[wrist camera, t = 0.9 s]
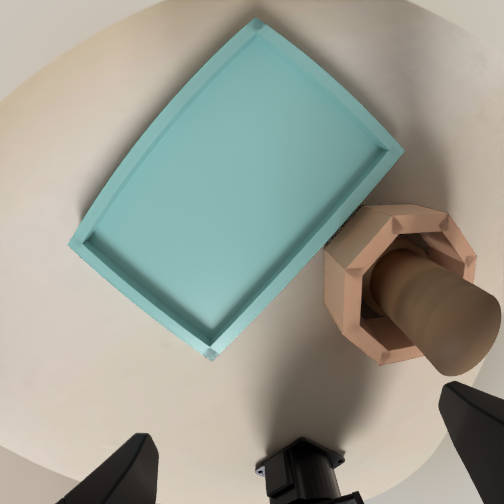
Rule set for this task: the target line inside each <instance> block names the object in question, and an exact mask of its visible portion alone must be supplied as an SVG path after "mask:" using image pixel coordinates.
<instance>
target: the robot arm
mask: <svg viewBox="0 0 504 504" xmlns="http://www.w3.org/2000/svg"><path fill="white" fill-rule="evenodd" d="M438 406H439V411H440V413H441V415H442V418H443V420H444V423H445V425H446V427H447V430H448V432H449V435H450V437H451V440H452V442H453V444H454V446H455V448H456V450H457V452H458V454H459V456H460V458H461V460H462V462H463V463H464V465H465V467H466V469H467V471H468V473H469V475H470V477H471V479H472V481H473V483H474V485H475V487H476V489H477V490H478V493H479V495H480V497H481V499H482V501H483V503H484V504H504V400H503V399H501V398H498V397H495V396H493V395H490V394H488V393H485V392H483V391H480V390H477V389H475V388H472V387H470V386H467V385H465V384H462V383H460V382H457V381H452V382H450V383H447V384H445V385H444V386H443V388H442V392H441V396H440V400H439V405H438ZM158 461H159V454H158V450H157V448H156V446H155V444H154V442H153V440H152V437H151V436H150V434H148V433H135V434H134V435H133V436H132V437H131V438H130V439H129V440H127V441H126V442H125V443H124V444H123V445H122V446H121V447H120V448H119V449H118V450H117V451H115V452H114V453H113V454H112V455H111V456H110V457H109V458H108V459H107V460H105V461H104V462H103V463H102V464H101V465H100V466H99V467H98V468H96V469H95V470H94V471H93V472H92V473H91V474H90V475H88V476H87V477H86V478H85V479H84V480H83V481H82V482H80V483H79V484H78V485H77V486H76V487H75V488H74V489H72V490H71V491H70V492H69V493H68V494H66V495H65V496H64V498H62V499H60V500H59V501H58V502H57V503H55V504H155V502H156V494H157V477H158ZM344 462H345V459H344V457H343V456H342V455H339V454H337V453H335V452H333V451H331V450H329V449H327V448H324V447H322V446H320V445H318V444H316V443H314V442H312V441H310V440H308V439H306V438H299V439H298V440H296V441H295V442H293V443H292V444H291V445H289V446H288V447H286V448H285V449H283V450H282V451H280V452H279V453H277V454H276V455H275V456H273V457H272V458H270V459H268V460H267V461H265V462H264V463H262V464H261V465H259V466H258V467H256V468H255V473H256V474H258V475H261V476H263V477H265V480H266V492H267V496H268V497H269V499H270V504H364V502H363V500H362V498H361V496H360V494H359V491H356V492H352V494H348V495H345V496H341V494H340V490H339V487H338V483H337V480H336V476H335V473H334V469H335V468H336V467H338V466H339V465H341V464H342V463H344Z"/></svg>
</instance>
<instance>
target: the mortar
mask: <svg viewBox="0 0 504 504" xmlns="http://www.w3.org/2000/svg"><path fill="white" fill-rule="evenodd" d="M406 233H419V234H420V236H421V237H422V238H423V239H424V241H425V242H426V243H427V244H428V246H429V257H428V259H429V260H431V261H433V262H435V263H437V264H438V265H440V266H442V267H444V268H446V269H447V270H449V271H451V272H453V273H455V274H456V275H458V276H460V277H462V278H463V279H465V280H467V281H469V282H470V283H472V284H473V281H474V273H475V266H476V257H477V255H476V254H475V252H474V251H473V249H472V248H471V246H470V245H469V243H468V242H467V240H466V239H465V237H464V236H463V234H462V233H461V231H460V230H459V228H458V227H457V225H456V224H455V222H454V221H453V220H452V218H451V217H450V215H449V214H448V213H446V212H442V211H438V210H434V209H430V208H426V207H422V206H418V205H414V204H398V205H366V206H364V205H363V206H362V207H361V208H360V209H359V210H358V211H357V212H356V214H355V215H354V216H353V217H352V218H351V219H350V220H349V222H348V223H347V224H346V225H345V226H344V227H343V228H342V229H341V231H340V232H339V233H338V234H337V235H336V236H335V237H334V238H333V239H332V241H331V242H330V243H329V244H328V245H327V246H326V247H325V248H324V305H325V306H326V308H327V310H328V311H329V313H330V315H331V317H332V318H333V320H334V322H335V323H336V325H337V327H338V328H339V330H340V332H341V334H342V335H344V336H345V337H346V338H347V339H349V340H350V341H351V342H352V343H354V344H355V345H356V346H357V347H358V348H360V349H361V350H362V351H363V352H364V353H366V354H367V355H368V356H369V357H371V358H372V359H373V360H374V361H375V362H377V363H378V364H379V365H380V366H381V365H385V364H390V363H395V362H400V361H405V360H409V359H414V358H418V357H422V356H424V354H423V353H422V352H421V351H420V350H419V349H418V348H417V347H416V346H415V344H414V343H413V342H412V341H411V340H410V339H409V338H408V337H407V336H406V335H405V333H404V332H403V331H402V330H401V329H400V328H399V327H398V326H397V325H396V324H395V323H394V322H393V321H392V319H391V318H390V317H389V316H386V317H379V318H373V319H366V320H364V319H363V318H362V317H361V316H360V311H361V295H362V275H363V274H364V273H365V272H366V271H367V270H368V269H369V268H370V267H371V266H372V264H373V263H374V262H375V261H376V260H377V259H378V258H379V257H380V255H381V254H382V253H383V252H384V251H385V250H386V249H387V247H388V246H389V245H390V244H391V243H392V242H393V240H394V239H395V238H396V237H397V236H398V234H406Z"/></svg>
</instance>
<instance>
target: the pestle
mask: <svg viewBox="0 0 504 504" xmlns="http://www.w3.org/2000/svg"><path fill="white" fill-rule="evenodd" d="M361 298H362V299H363V300H364V302H365V303H366V304H367V305H368V306H369V307H370V308H371V309H372V310H373V311H374V312H376V313H377V314H380V315H383V316H389V317H390V318H391V319H392V321H393V322H394V323H395V324H396V325H397V326H398V327H399V328H400V329H401V330H402V331H403V332H404V333H405V335H406V336H407V337H408V338H409V339H410V340H411V341H412V342H413V343H414V344H415V346H416V347H417V348H418V349H419V350H420V351H421V352H422V353H423V354H424V356H425V357H426V358H427V359H428V360H429V361H430V362H431V363H432V365H433V366H434V367H435V368H436V369H437V370H438V371H439V372H440V373H441V374H443V375H445V376H457V375H461V374H463V373H465V372H467V371H469V370H470V369H472V368H473V367H475V366H476V365H477V364H478V363H479V362H480V361H481V360H482V359H483V358H484V357H485V356H486V354H487V353H488V352H489V350H490V349H491V347H492V345H493V343H494V342H495V339H496V337H497V335H498V332H499V329H500V324H501V308H500V305H499V302H498V301H497V299H496V298H495V297H494V296H492V295H491V294H489V293H487V292H486V291H484V290H482V289H481V288H479V287H477V286H476V285H474V284H472V283H470V282H469V281H467V280H465V279H463V278H462V277H460V276H458V275H456V274H455V273H453V272H451V271H449V270H447V269H446V268H444V267H442V266H440V265H438V264H437V263H435V262H433V261H431V260H429V259H428V257H427V255H426V253H425V251H424V250H423V249H422V248H421V247H420V246H419V245H417V244H415V243H414V242H411V241H409V240H407V239H405V238H403V237H401V236H397V237H396V238H395V239H394V240H393V242H392V243H391V244H390V245H389V246H388V247H387V249H386V250H385V251H384V252H383V253H382V254H381V255H380V257H379V258H378V259H377V260H376V261H375V262H374V263H373V264H372V266H371V267H370V268H369V269H368V270H367V271H366V272H365V273H364V274H363V275H362V295H361Z"/></svg>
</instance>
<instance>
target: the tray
mask: <svg viewBox="0 0 504 504" xmlns="http://www.w3.org/2000/svg"><path fill="white" fill-rule="evenodd" d="M404 152H405V150H404V149H403V148H402V147H401V146H400V145H399V144H398V142H397V141H396V140H395V139H394V138H393V137H392V136H391V135H390V134H389V133H388V131H387V130H386V129H385V128H384V127H383V126H382V125H381V124H380V123H379V122H378V121H377V120H376V119H375V118H374V117H373V116H372V115H371V114H370V113H369V112H368V111H367V110H366V109H365V108H364V107H363V106H362V105H361V104H360V103H359V102H358V101H357V100H356V99H355V98H354V97H353V96H352V95H351V94H350V93H349V92H348V91H347V90H346V89H345V88H344V87H343V86H341V85H340V84H339V83H338V82H337V81H336V80H335V79H334V78H333V77H332V76H330V75H329V74H328V73H327V72H326V71H325V70H324V69H322V68H321V67H320V66H319V65H318V64H317V63H315V62H314V61H313V60H312V59H311V58H309V57H308V56H307V55H306V54H304V53H303V52H302V51H301V50H300V49H298V48H297V47H296V46H294V45H293V44H292V43H291V42H289V41H288V40H287V39H285V38H284V37H283V36H281V35H280V34H279V33H277V32H276V31H275V30H273V29H272V28H271V27H269V26H268V25H266V24H265V23H264V22H262V21H261V20H259V19H258V18H256V17H255V18H254V19H252V20H251V21H250V22H249V23H248V24H247V25H246V26H244V27H243V28H242V29H241V30H240V31H239V32H238V33H237V34H236V35H234V36H233V37H232V38H231V39H230V40H229V41H228V42H227V43H226V44H225V45H224V46H223V47H222V48H221V49H220V50H219V51H218V52H217V53H216V54H215V55H213V56H212V57H211V58H210V59H209V60H208V61H207V62H206V64H205V65H204V66H203V67H202V68H201V69H200V70H199V71H198V72H197V73H196V74H195V75H194V76H193V77H192V78H191V79H190V80H189V81H188V82H187V83H186V85H185V86H184V87H183V88H182V89H181V90H180V91H179V92H178V93H177V94H176V96H175V97H174V98H173V99H172V100H171V101H170V102H169V104H168V105H167V106H166V107H165V108H164V109H163V110H162V112H161V113H160V114H159V115H158V116H157V118H156V119H155V120H154V121H153V122H152V124H151V125H150V126H149V127H148V129H147V130H146V131H145V132H144V134H143V135H142V136H141V137H140V139H139V140H138V141H137V142H136V144H135V145H134V146H133V148H132V149H131V150H130V152H129V153H128V154H127V156H126V157H125V158H124V160H123V161H122V162H121V164H120V165H119V166H118V168H117V169H116V171H115V172H114V173H113V175H112V176H111V178H110V179H109V181H108V182H107V183H106V185H105V186H104V188H103V189H102V191H101V192H100V194H99V195H98V197H97V198H96V200H95V201H94V203H93V204H92V206H91V207H90V209H89V211H88V212H87V214H86V215H85V217H84V218H83V220H82V222H81V223H80V225H79V227H78V228H77V230H76V232H75V233H74V235H73V237H72V238H71V240H70V242H69V243H68V246H69V247H70V248H71V249H72V250H73V251H74V252H76V253H77V254H78V255H79V256H80V257H81V258H82V259H83V260H84V261H85V262H86V263H88V264H89V265H90V266H91V267H92V268H93V269H94V270H95V271H97V272H98V273H99V274H100V275H101V276H102V277H103V278H105V279H106V280H107V281H108V282H109V283H110V284H112V285H113V286H114V287H115V288H116V289H117V290H119V291H120V292H121V293H122V294H123V295H125V296H126V297H127V298H128V299H130V300H131V301H132V302H133V303H134V304H136V305H137V306H138V307H139V308H141V309H142V310H143V311H144V312H146V313H147V314H148V315H150V316H151V317H152V318H153V319H155V320H156V321H157V322H159V323H160V324H161V325H162V326H164V327H165V328H166V329H168V330H169V331H170V332H172V333H173V334H174V335H176V336H177V337H178V338H180V339H181V340H182V341H184V342H185V343H187V344H188V345H189V346H191V347H192V348H194V349H195V350H196V351H198V352H199V353H201V354H202V355H203V356H205V357H206V358H208V359H209V360H211V361H213V360H214V359H215V358H216V357H217V356H218V355H219V354H220V353H221V352H222V351H223V350H224V349H225V348H226V347H227V346H228V345H229V344H230V343H231V342H232V341H233V340H234V339H235V338H236V337H237V336H238V335H239V334H240V333H241V332H242V331H243V330H244V329H245V328H246V327H247V326H248V325H249V324H250V323H251V322H252V321H253V320H254V319H255V318H256V317H257V316H258V315H259V314H260V313H261V312H262V310H263V309H264V308H265V307H266V306H267V305H268V304H269V303H270V302H271V301H272V300H273V299H274V298H275V297H276V296H277V295H278V294H279V293H280V292H281V291H282V290H283V288H284V287H285V286H286V285H287V284H288V283H289V282H290V281H291V280H292V279H293V278H294V277H295V276H296V275H297V274H298V272H299V271H300V270H301V269H302V268H303V267H304V266H305V265H306V264H307V263H308V262H309V261H310V259H311V258H312V257H313V256H314V255H315V254H316V253H317V252H318V251H319V250H320V249H321V247H322V246H323V245H324V244H325V243H326V242H327V241H328V240H329V239H330V238H331V236H332V235H333V234H334V233H335V232H336V231H337V230H338V229H339V227H340V226H341V225H342V224H343V223H344V222H345V221H346V220H347V218H348V217H349V216H350V215H351V214H352V213H353V212H354V210H355V209H356V208H357V207H358V206H359V205H360V204H361V202H362V201H363V200H364V199H365V198H366V197H367V196H368V194H369V193H370V192H371V191H372V190H373V189H374V187H375V186H376V185H377V184H378V183H379V182H380V180H381V179H382V178H383V177H384V176H385V175H386V173H387V172H388V171H389V170H390V169H391V167H392V166H393V165H394V164H395V163H396V161H397V160H398V159H399V158H400V157H401V155H402V154H403V153H404Z"/></svg>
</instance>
